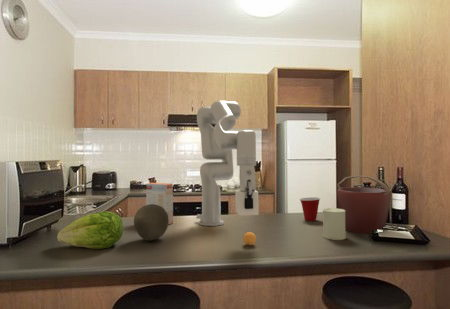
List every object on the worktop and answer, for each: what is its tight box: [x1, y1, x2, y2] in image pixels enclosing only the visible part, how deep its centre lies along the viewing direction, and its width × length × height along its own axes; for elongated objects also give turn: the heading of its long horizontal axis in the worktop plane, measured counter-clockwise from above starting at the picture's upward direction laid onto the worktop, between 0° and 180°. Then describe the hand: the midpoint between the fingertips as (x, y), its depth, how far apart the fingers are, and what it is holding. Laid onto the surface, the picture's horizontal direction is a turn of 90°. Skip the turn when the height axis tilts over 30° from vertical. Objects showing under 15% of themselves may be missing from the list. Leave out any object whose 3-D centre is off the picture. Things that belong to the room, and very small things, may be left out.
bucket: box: [336, 175, 392, 235], centre depth 143 cm, size 24×22×25 cm
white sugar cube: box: [234, 189, 259, 216], centre depth 119 cm, size 8×8×9 cm
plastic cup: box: [299, 197, 321, 222], centre depth 164 cm, size 11×11×12 cm
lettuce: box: [56, 210, 124, 250], centre depth 119 cm, size 14×24×15 cm
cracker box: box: [145, 182, 174, 226], centre depth 159 cm, size 14×6×21 cm, turn 58°
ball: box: [242, 231, 257, 246], centre depth 119 cm, size 5×5×5 cm
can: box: [322, 207, 347, 241], centre depth 130 cm, size 9×9×12 cm
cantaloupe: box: [133, 204, 169, 241], centre depth 127 cm, size 14×14×15 cm
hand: (246, 206), depth 119 cm, fingers closed on white sugar cube, 7 cm apart
